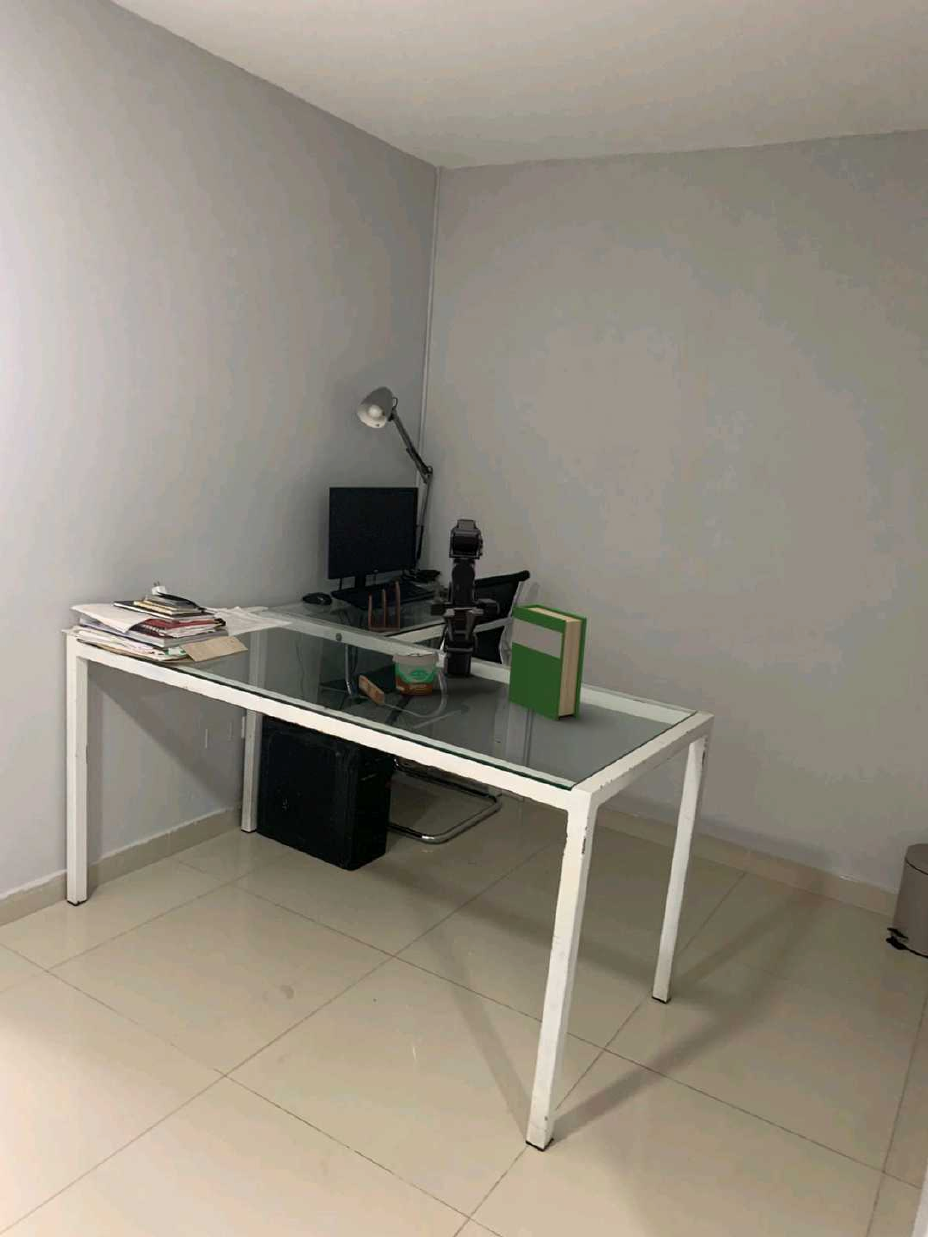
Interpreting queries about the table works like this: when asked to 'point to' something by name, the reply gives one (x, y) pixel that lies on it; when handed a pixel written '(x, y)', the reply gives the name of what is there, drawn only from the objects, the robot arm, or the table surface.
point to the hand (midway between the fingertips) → (459, 640)
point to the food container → (415, 673)
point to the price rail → (371, 690)
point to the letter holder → (385, 615)
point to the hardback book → (547, 660)
